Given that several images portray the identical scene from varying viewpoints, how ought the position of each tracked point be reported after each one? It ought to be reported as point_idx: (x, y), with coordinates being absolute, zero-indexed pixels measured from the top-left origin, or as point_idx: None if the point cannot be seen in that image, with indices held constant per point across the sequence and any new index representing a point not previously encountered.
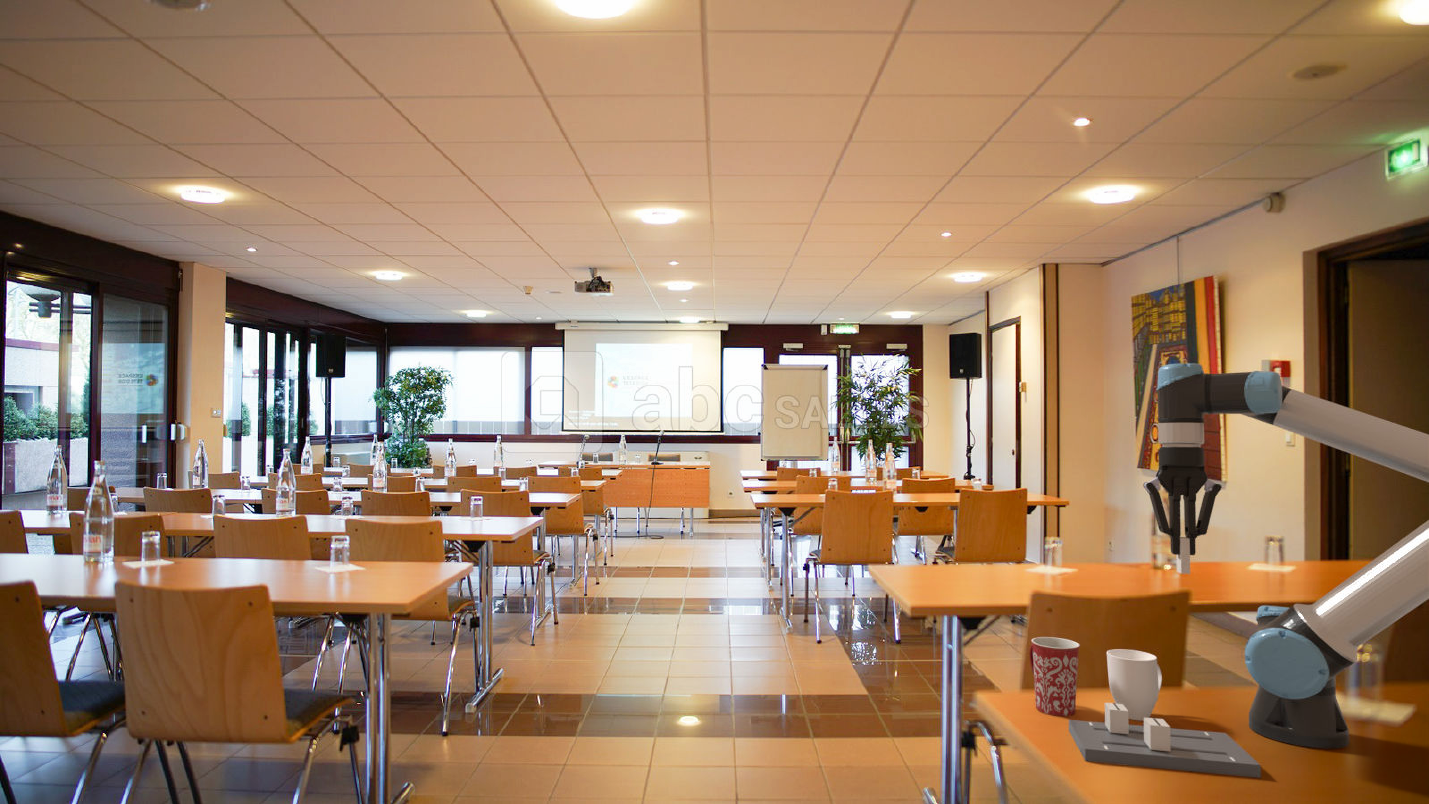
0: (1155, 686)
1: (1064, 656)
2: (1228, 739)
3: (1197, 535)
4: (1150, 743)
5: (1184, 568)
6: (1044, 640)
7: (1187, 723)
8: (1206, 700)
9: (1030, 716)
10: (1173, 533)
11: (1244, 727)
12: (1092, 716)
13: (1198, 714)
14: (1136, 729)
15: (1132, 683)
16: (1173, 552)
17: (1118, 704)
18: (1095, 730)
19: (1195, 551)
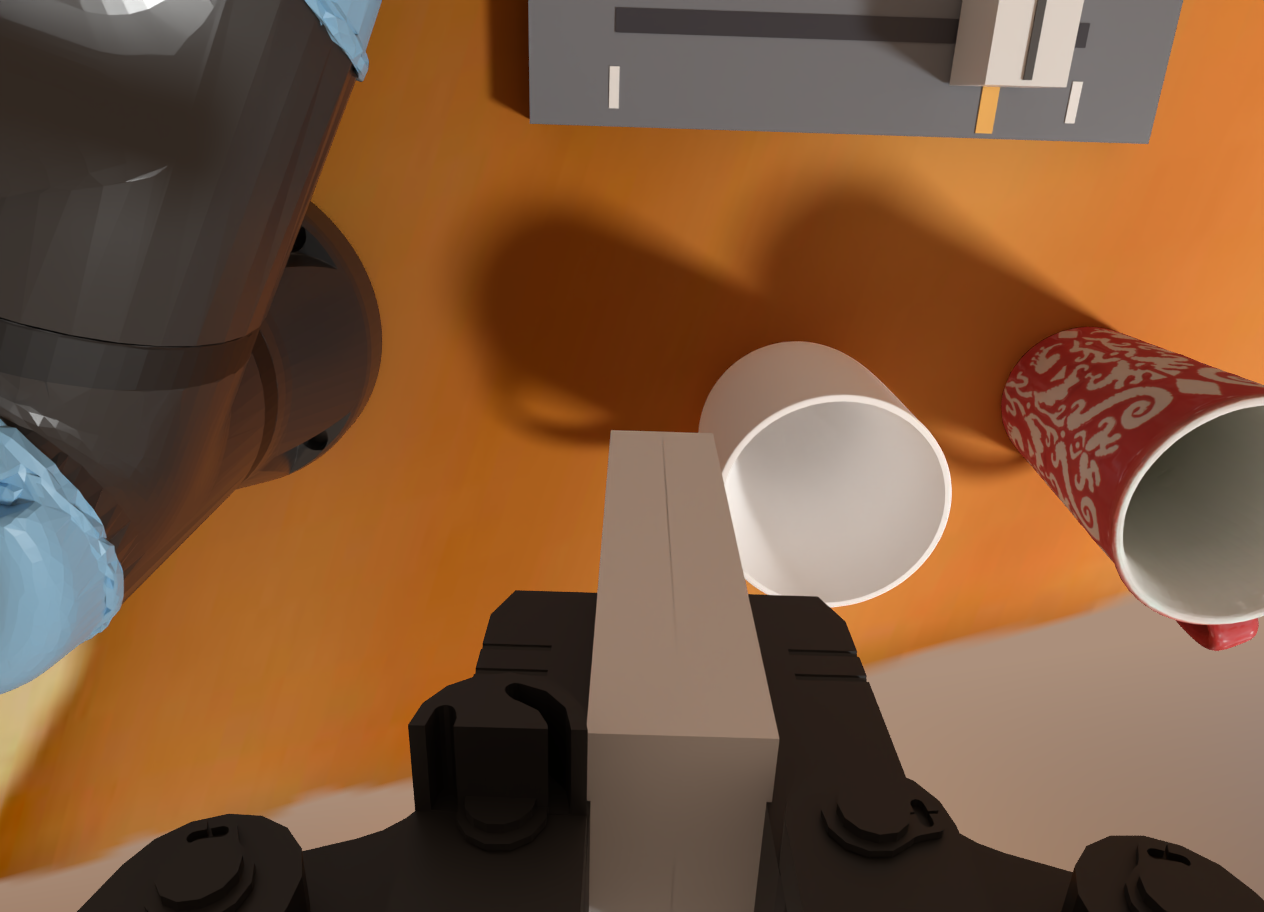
0: (732, 383)
1: (1220, 391)
2: (546, 30)
3: (408, 726)
4: None
5: (679, 455)
6: (1247, 598)
7: (599, 357)
8: (441, 644)
9: (1211, 296)
10: (962, 841)
11: (398, 360)
12: (948, 356)
13: (522, 476)
14: (896, 75)
15: (844, 362)
16: (834, 617)
17: (1008, 72)
18: (1090, 9)
19: (489, 621)
